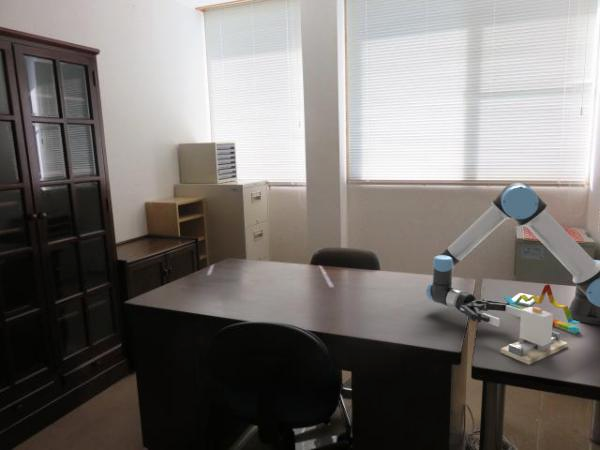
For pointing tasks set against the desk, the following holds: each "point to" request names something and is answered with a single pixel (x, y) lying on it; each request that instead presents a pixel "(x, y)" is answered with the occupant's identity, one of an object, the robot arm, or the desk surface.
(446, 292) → the robot arm
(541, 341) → the breaker module
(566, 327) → the chart
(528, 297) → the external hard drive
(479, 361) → the desk surface
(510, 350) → the steel rail
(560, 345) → the rail board
